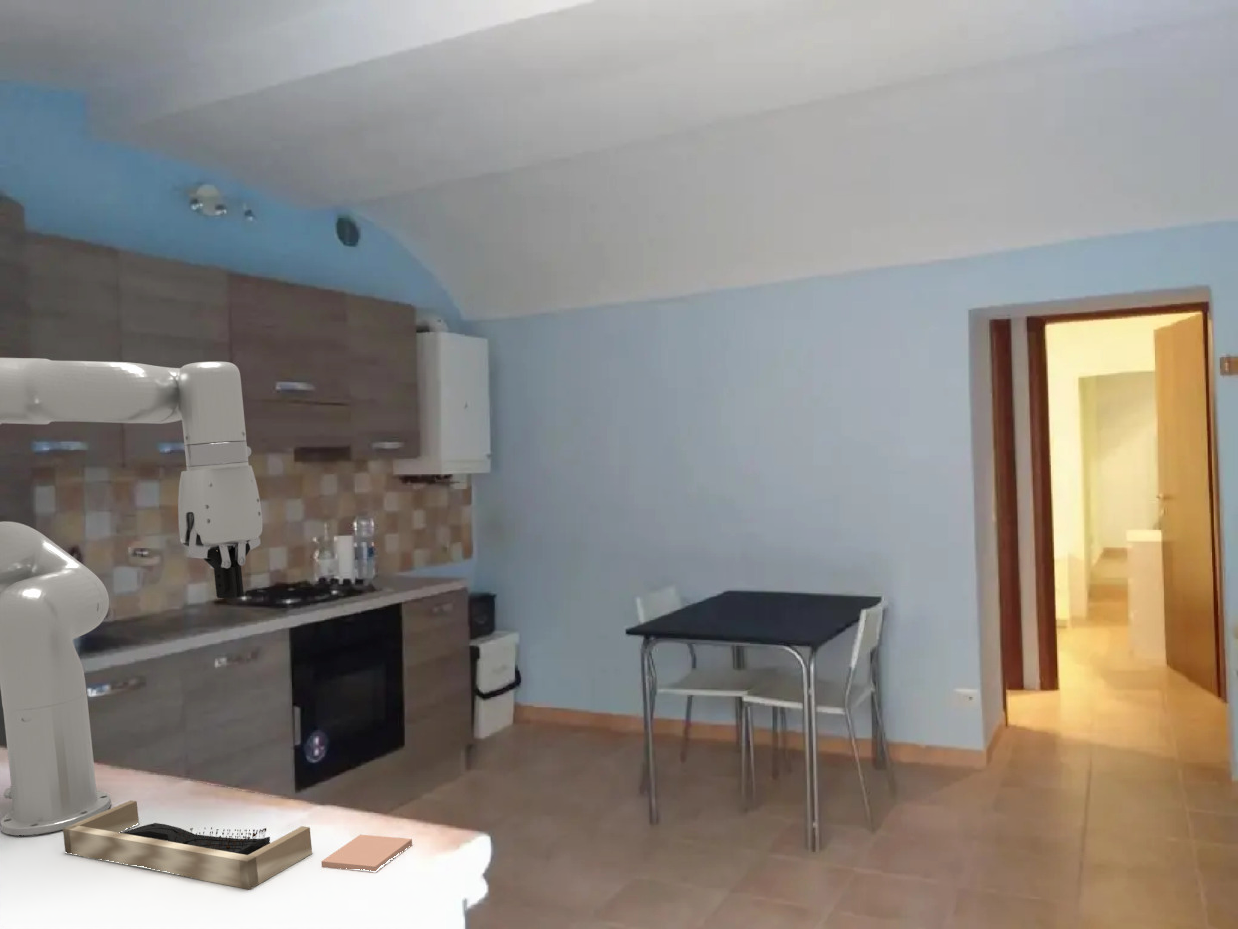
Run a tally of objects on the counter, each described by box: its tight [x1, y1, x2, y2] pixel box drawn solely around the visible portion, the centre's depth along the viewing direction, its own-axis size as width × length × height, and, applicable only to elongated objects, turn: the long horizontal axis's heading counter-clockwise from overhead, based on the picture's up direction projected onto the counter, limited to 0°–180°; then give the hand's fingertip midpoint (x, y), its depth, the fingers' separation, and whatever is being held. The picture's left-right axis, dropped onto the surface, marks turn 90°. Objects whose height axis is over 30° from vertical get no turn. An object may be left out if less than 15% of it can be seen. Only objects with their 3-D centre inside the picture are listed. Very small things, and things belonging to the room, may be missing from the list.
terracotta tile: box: [320, 834, 413, 871], centre depth 110 cm, size 7×7×1 cm
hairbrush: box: [122, 822, 271, 855], centre depth 115 cm, size 8×4×25 cm
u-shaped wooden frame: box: [62, 800, 313, 890], centre depth 114 cm, size 30×9×3 cm, turn 63°
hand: (230, 596), depth 130 cm, fingers closed
